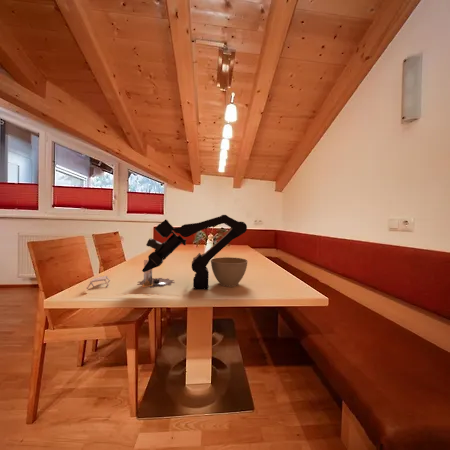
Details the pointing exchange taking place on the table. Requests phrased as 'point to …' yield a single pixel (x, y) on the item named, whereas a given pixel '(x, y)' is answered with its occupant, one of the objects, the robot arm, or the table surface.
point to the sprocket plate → (158, 282)
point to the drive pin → (147, 275)
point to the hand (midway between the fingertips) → (144, 269)
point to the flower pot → (229, 270)
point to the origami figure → (99, 280)
